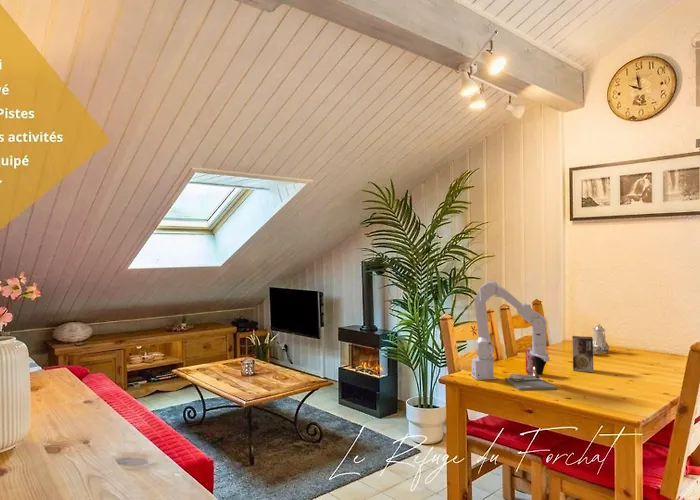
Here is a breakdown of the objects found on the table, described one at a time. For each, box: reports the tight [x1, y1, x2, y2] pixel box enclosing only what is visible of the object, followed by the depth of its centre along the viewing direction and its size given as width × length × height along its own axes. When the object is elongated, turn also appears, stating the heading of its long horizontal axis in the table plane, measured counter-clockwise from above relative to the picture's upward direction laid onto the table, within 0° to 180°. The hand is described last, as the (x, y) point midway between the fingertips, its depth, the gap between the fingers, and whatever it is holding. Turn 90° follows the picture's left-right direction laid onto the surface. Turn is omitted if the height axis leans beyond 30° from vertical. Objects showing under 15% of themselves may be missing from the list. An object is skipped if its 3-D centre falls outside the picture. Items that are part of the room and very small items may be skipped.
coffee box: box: [571, 335, 594, 373], centre depth 234 cm, size 9×6×16 cm
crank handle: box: [509, 366, 541, 380], centre depth 213 cm, size 6×14×4 cm, turn 94°
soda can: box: [525, 346, 535, 375], centre depth 227 cm, size 7×7×12 cm
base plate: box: [504, 377, 558, 391], centre depth 209 cm, size 16×16×2 cm
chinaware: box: [592, 323, 610, 356], centre depth 278 cm, size 28×17×17 cm, turn 173°
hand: (539, 374), depth 210 cm, fingers closed
